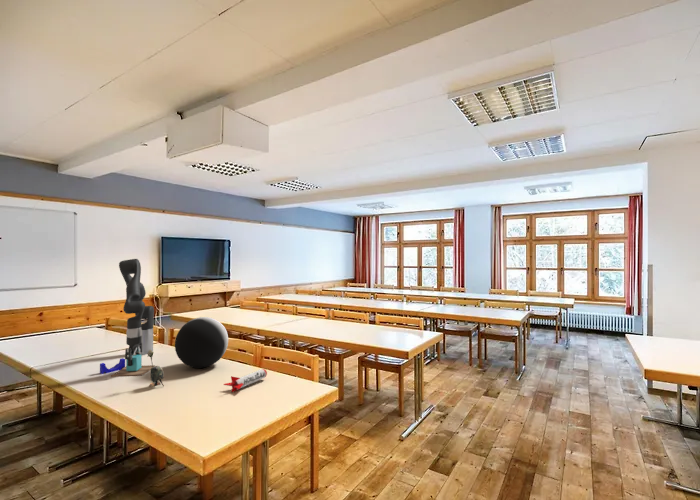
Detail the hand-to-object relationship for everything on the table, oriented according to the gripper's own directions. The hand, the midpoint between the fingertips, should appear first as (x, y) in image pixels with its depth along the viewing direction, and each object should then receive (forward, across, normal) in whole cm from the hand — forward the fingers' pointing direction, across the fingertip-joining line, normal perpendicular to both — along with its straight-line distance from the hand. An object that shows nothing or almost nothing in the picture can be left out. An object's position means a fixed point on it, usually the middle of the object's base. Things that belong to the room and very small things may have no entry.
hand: (133, 363), depth 200 cm
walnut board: (+5, 0, 0) cm, 5 cm away
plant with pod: (+5, +26, +24) cm, 35 cm away
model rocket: (+5, +30, +71) cm, 77 cm away
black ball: (+5, -7, +36) cm, 37 cm away
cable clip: (+6, -3, -14) cm, 15 cm away
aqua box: (+3, 0, 0) cm, 3 cm away
